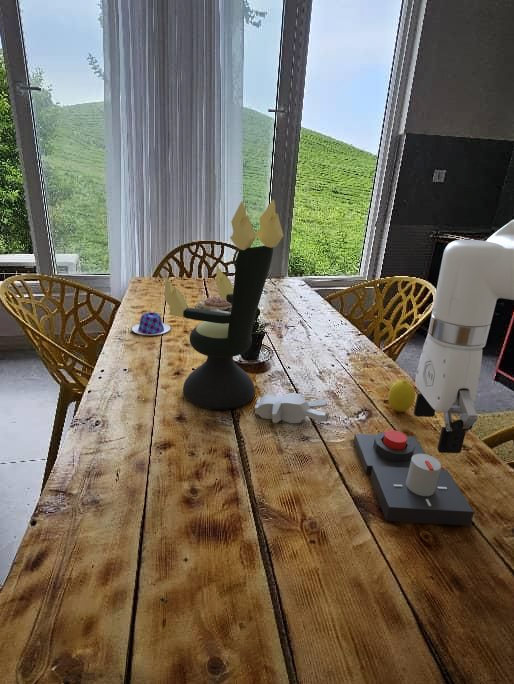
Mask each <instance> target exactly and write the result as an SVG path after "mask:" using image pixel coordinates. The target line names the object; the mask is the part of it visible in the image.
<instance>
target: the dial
mask: <svg viewBox="0 0 514 684" xmlns="http://www.w3.org/2000/svg"><path fill="white" fill-rule="evenodd" d="M440 470H442V464H441V462H440V460H438V459H437V458H436V457H434V456H432V455H430V454H427V453H426V454H415V455H413V456H412V459H411V463H410V468H409V472H408V476H407V481H406V485H407V487H408V489H409V490H410V491H412V492H413V493H415V494H417V495H421V496H431V495H433V494H434V492H435V488H436V485H437V481H438V477H439V473H440Z"/></svg>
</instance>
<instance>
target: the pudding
mask: <svg viewBox="0 0 514 684" xmlns="http://www.w3.org/2000/svg"><path fill="white" fill-rule="evenodd" d="M131 330H132V332H133V333H135V334H138V335H142V336H158V335H163V334H166V333H168V332H169V331H170V330H171V326H170V325H169V324H167V323H165V322H163V320H162V317H161V314H160V313H158V312H153V311H151V312H150V311H149V312H148V311H147V312H144V313H142V315H141V316H140V320H139V323H137V324H134V325H133V326H132V327H131Z"/></svg>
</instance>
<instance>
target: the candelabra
mask: <svg viewBox="0 0 514 684" xmlns="http://www.w3.org/2000/svg"><path fill="white" fill-rule="evenodd" d="M258 220H259V224H260V227H259V229H258V230H257V231H256V232H255V230H254V228H253V225H252V224H253V223H252V222H251V220H250V217H249V216H248V215H247V211H246V207H245V205H244V202H243V200H241V202H240V203H239V205H238V207H237V209H236V211H235V213H234V215H233V217H232V220H231V227H232V235H230V236H229V238H230V241H231V242H232V244H234V246H235V247H236V248H237V249H239V250H238V252H237V254H236V258H235V266H234V267H235V269H234V280H233V283H232V281H231V279H229V277H227V275H226V274H225V273H224V272H223V271H222V270H221V268H220V267H219V266H218V265H216V274H215V275H216V277H215V285H216V287H217V289H218V292H219V297H220V298H221V299H223V300H226V301H228V302H229V303H231V304H232V308H230V312H229V313H223V312H216V311H210V310H203V309H196V308H195V307H189V306H188V303H187V301H186V299H185V297H184V294H183V292H181V291H180V289H178V288H177V286H173V284H172V283H171V282H170V280H169V279H167V278H165V280H164V301H165V302H166V304H167V305H168V306H169V315H170V316H173V317H179V318H181V317H183V318H185V319H187V320H192V321H193V320H194V321H200V322H201V323H199V324H198V325H196V326H195V327H194V328H193V329H192V330H191V332H190V334H189V343H190V345H191V348H193V350H195V351H196V352H197V353H199V354H201V355H204V356H206V360H205V361H204V362H203V363H202V364H201V365H199V366H197V367H196V368H195V369H194V370H192V372H191V373H189V375H188V376H187V377H186V378H185V380H184V383H183V386H182V392H183V395H184V396H185V398H186V399H187V400H188V401H189V402H191V403H192V404H193V405H195V406H198V407H200V408H202V409H207V410H211V411H227V410H235V409H237V408H241V407H243V406H244V405H246V404H247V403H249V402H250V401H251V400H252V399H253V398H254V396H255V393H256V390H255V384H254V382H253V380H252V378H251V377H250V375H249V374H248V373H247V372H246V371H245V370H244V369H243V368H241V367H240V366H239V365H238V364H236V363H235V361H234V357H238V356H240V355H242V354H244V353H246V352H247V351H248V350H249V349H250V347H251V346H252V343H253V337H252V335H253V329H254V324H255V321H256V316H257V311H258V308H259V305H260V301H261V298H262V295H263V290H264V288H265V284H266V281H267V278H268V275H269V271H270V268H271V263H272V260H273V254H274V248H276V247H277V246H278V245H279V243H280V242H281V240H283V238H284V237H285V236H284V231H283V227H282V224H281V221H280V217H279V213H276V203H275V200H274V199H272V200H271V201H270V203H269V204H268V206H267V207H266V208H265V211H264V212H263V213H262V214H261V215H260V217H259V219H258ZM256 239H258V240H259V242H260V243H261V244H263V245H260V246H253V243H254V241H255V240H256ZM252 246H253V247H252Z"/></svg>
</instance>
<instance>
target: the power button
mask: <svg viewBox="0 0 514 684" xmlns="http://www.w3.org/2000/svg"><path fill="white" fill-rule="evenodd" d="M384 432H385V434H384V439H383V443H384V445H386V446H387V447H389V448H392V449H395V450H403V449H405V447H406V443H407V437H406V436H407V435H406V434H405V433H403V432H401V431H399V430H396V429H395V430H394V429H389V430H386V431H384Z"/></svg>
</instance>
